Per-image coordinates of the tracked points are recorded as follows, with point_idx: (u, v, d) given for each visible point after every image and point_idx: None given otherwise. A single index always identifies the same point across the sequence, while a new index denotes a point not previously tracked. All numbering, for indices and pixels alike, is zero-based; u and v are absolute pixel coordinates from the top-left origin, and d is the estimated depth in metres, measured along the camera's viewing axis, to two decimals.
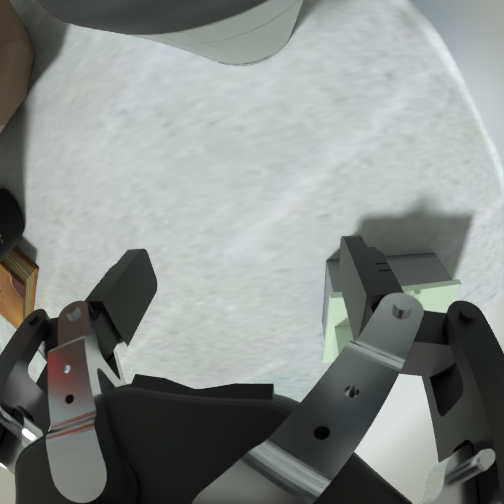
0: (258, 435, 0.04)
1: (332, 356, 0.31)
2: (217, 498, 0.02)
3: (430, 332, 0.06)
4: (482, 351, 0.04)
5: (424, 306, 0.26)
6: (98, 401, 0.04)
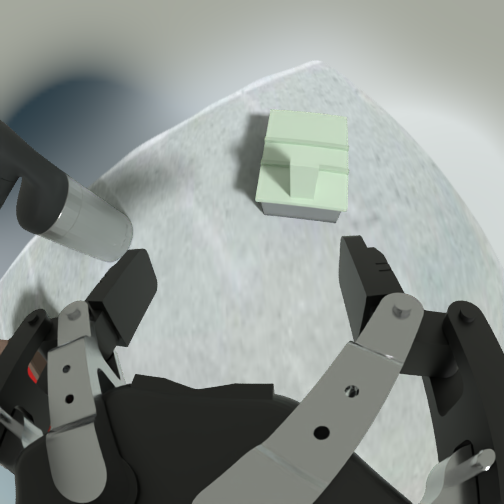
0: (258, 435, 0.04)
1: (336, 200, 0.34)
2: (217, 498, 0.02)
3: (430, 332, 0.06)
4: (482, 351, 0.04)
5: (285, 131, 0.37)
6: (98, 401, 0.04)
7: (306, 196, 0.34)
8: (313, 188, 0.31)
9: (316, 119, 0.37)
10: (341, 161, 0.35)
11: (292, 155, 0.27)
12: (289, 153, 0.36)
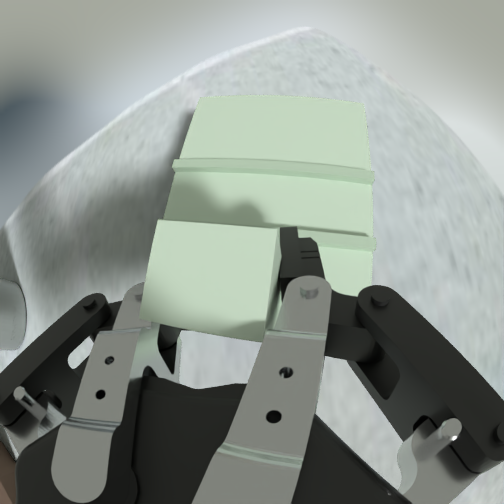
0: None
1: None
2: (217, 498, 0.02)
3: (341, 314, 0.07)
4: (407, 330, 0.05)
5: (224, 142, 0.16)
6: (130, 407, 0.04)
7: None
8: None
9: (296, 109, 0.16)
10: (356, 214, 0.14)
11: (151, 270, 0.06)
12: (225, 196, 0.15)
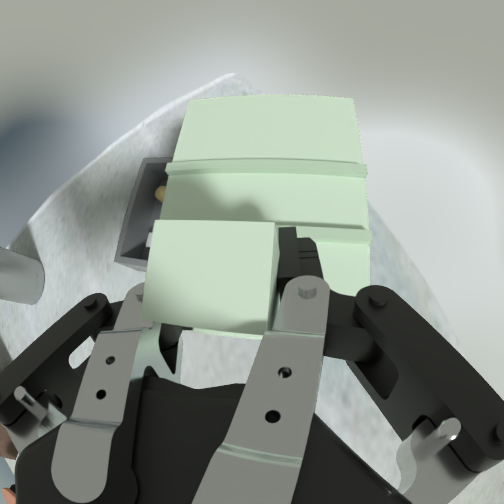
0: None
1: None
2: (217, 498, 0.02)
3: (339, 314, 0.07)
4: (406, 330, 0.05)
5: (216, 143, 0.17)
6: (130, 407, 0.04)
7: None
8: None
9: (286, 107, 0.17)
10: (351, 208, 0.14)
11: (151, 270, 0.06)
12: (220, 197, 0.15)
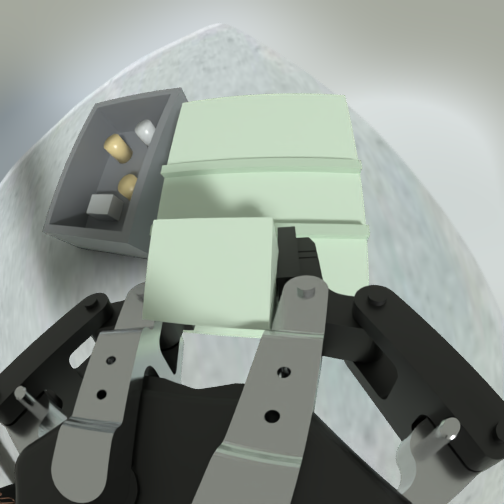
0: None
1: None
2: (217, 498, 0.02)
3: (337, 314, 0.07)
4: (405, 329, 0.05)
5: (210, 144, 0.17)
6: (130, 408, 0.04)
7: None
8: None
9: (279, 106, 0.17)
10: (347, 203, 0.14)
11: (151, 269, 0.06)
12: (216, 197, 0.15)
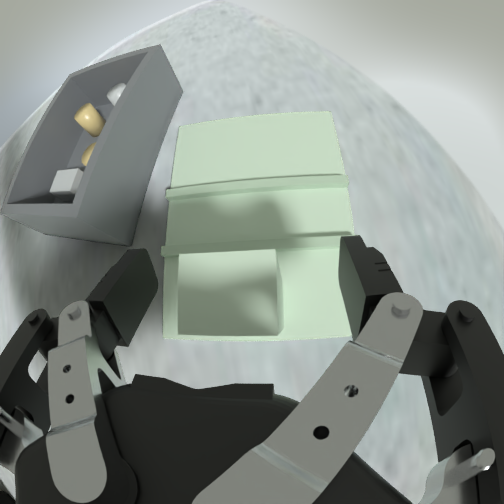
0: (258, 435, 0.04)
1: (337, 317, 0.15)
2: (217, 498, 0.02)
3: (429, 332, 0.06)
4: (481, 351, 0.04)
5: (209, 167, 0.18)
6: (99, 402, 0.04)
7: None
8: None
9: (270, 127, 0.19)
10: (337, 216, 0.16)
11: (181, 294, 0.08)
12: (219, 217, 0.17)
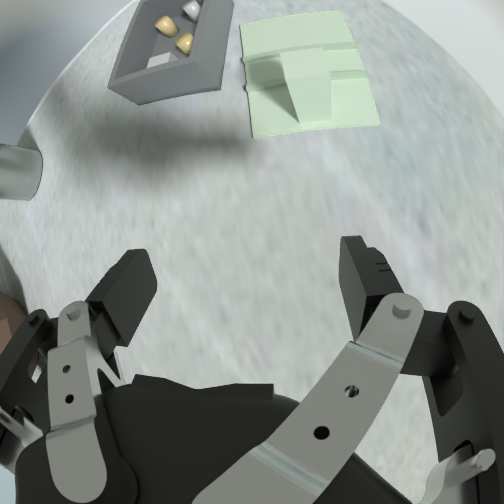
0: (258, 435, 0.04)
1: (362, 113, 0.21)
2: (217, 498, 0.02)
3: (430, 332, 0.06)
4: (482, 351, 0.04)
5: (268, 43, 0.23)
6: (98, 401, 0.04)
7: (321, 117, 0.21)
8: (328, 105, 0.19)
9: (302, 20, 0.21)
10: (353, 63, 0.21)
11: (284, 65, 0.15)
12: (280, 67, 0.23)
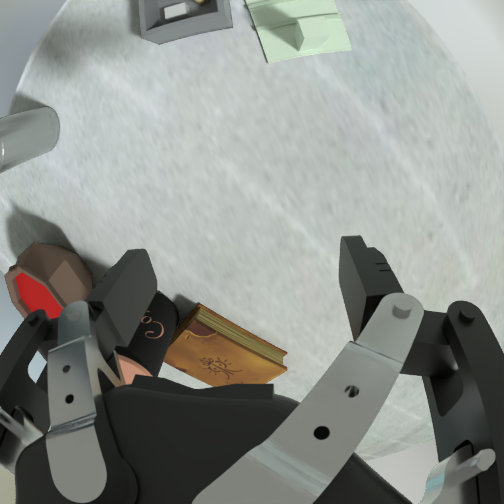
0: (258, 435, 0.04)
1: (340, 43, 0.27)
2: (217, 498, 0.02)
3: (430, 332, 0.06)
4: (482, 351, 0.04)
5: None
6: (98, 402, 0.04)
7: (314, 48, 0.28)
8: (321, 44, 0.25)
9: None
10: (330, 7, 0.24)
11: (302, 29, 0.21)
12: (278, 12, 0.26)
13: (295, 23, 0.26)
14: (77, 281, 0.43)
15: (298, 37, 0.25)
